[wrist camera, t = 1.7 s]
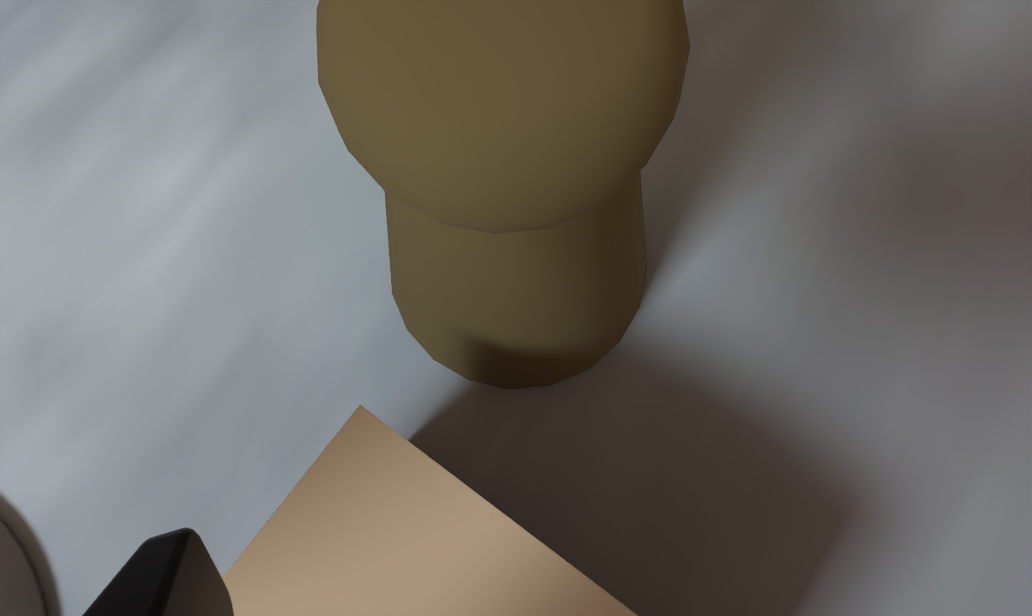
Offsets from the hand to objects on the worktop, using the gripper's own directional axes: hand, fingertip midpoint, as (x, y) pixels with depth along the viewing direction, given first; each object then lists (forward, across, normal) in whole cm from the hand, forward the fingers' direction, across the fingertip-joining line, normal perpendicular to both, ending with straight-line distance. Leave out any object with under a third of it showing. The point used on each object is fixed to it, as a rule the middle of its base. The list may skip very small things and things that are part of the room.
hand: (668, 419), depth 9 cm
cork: (+13, 0, +5) cm, 14 cm away
